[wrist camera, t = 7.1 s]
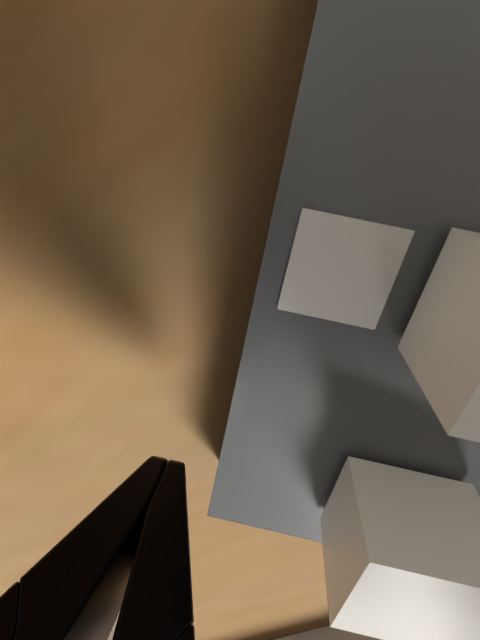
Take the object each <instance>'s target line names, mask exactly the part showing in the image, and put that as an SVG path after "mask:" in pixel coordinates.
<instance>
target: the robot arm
mask: <svg viewBox="0 0 480 640" xmlns="http://www.w3.org/2000/svg"><path fill="white" fill-rule="evenodd" d="M119 611H120V613H119ZM118 613H119V617H118V621H117V624H116V628H115V632H114V636H113V640H195V632H194V626H193V622H194V618H193V600H192V582H191V565H190V547H189V529H188V511H187V494H186V476H185V464H184V463H183V462H179V461H174V460H169V461H168V460H167V459H165V458H161V457H157V456H151V457H150V458H149V459H147V460H146V461H145V462H144V463H143V464H142V465H141V466H140V467H139V468H138V469H137V470H136V471H135V472H134V473H132V474H131V475H130V476H129V477H128V478H127V479H126V480H125V481H124V482H123V483H122V484H121V485H120V486H119V487H117V488H116V489H115V490H114V491H113V492H112V493H111V494H110V495H109V496H108V497H107V498H106V499H105V500H104V501H102V502H101V503H100V504H99V505H98V506H97V507H96V508H95V509H94V510H93V511H92V512H91V513H90V514H89V515H87V516H86V517H85V518H84V519H83V520H82V521H81V522H80V523H79V524H78V525H77V526H76V527H75V528H74V529H73V530H71V531H70V532H69V533H68V534H67V535H66V536H65V537H64V538H63V539H62V540H61V541H60V542H59V543H58V544H56V545H55V546H54V547H53V548H52V549H51V550H50V551H49V552H48V553H47V554H46V555H45V556H44V557H43V558H41V559H40V560H39V561H38V562H37V563H36V564H35V565H34V566H33V567H32V568H31V569H30V570H29V571H28V572H26V573H25V574H24V575H23V576H22V577H21V578H20V583H19V582H16V583H14V584H13V585H12V586H11V587H10V588H9V589H8V590H7V591H6V592H5V593H4V594H3V595H2V596H1V597H0V640H107V639H108V637H109V634H110V632H111V630H112V627H113V625H114V623H115V620H116V618H117V616H118Z"/></svg>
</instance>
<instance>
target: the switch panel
mask: <svg viewBox="0 0 480 640" xmlns="http://www.w3.org/2000/svg"><path fill="white" fill-rule="evenodd" d="M452 227H454V228H459V229H464V230H469V231H473V232H478V233H480V0H318V4H317V8H316V13H315V18H314V22H313V27H312V31H311V36H310V41H309V45H308V50H307V55H306V59H305V64H304V69H303V73H302V78H301V82H300V87H299V92H298V96H297V101H296V106H295V110H294V115H293V120H292V124H291V129H290V134H289V138H288V143H287V147H286V152H285V157H284V161H283V166H282V171H281V175H280V180H279V185H278V189H277V194H276V198H275V203H274V208H273V212H272V217H271V222H270V226H269V231H268V236H267V240H266V245H265V250H264V254H263V259H262V263H261V268H260V273H259V277H258V282H257V287H256V291H255V296H254V301H253V305H252V310H251V315H250V319H249V324H248V328H247V333H246V338H245V342H244V347H243V352H242V356H241V361H240V366H239V370H238V375H237V379H236V384H235V389H234V393H233V398H232V403H231V407H230V412H229V417H228V421H227V426H226V431H225V435H224V440H223V444H222V449H221V454H220V458H219V463H218V468H217V472H216V477H215V482H214V486H213V491H212V496H211V500H210V505H209V509H208V514H207V516H211V517H215V518H219V519H223V520H228V521H232V522H236V523H240V524H245V525H249V526H253V527H257V528H262V529H266V530H270V531H275V532H279V533H283V534H287V535H292V536H296V537H300V538H304V539H309V540H313V541H317V542H321V543H322V534H321V523H320V517H321V515H322V513H323V510H324V508H325V506H326V504H327V502H328V499H329V497H330V495H331V493H332V491H333V488H334V486H335V484H336V482H337V480H338V477H339V475H340V473H341V471H342V469H343V466H344V464H345V462H346V460H347V458H348V456H350V457H354V458H359V459H363V460H368V461H372V462H376V463H381V464H385V465H390V466H394V467H399V468H403V469H407V470H412V471H416V472H421V473H425V474H429V475H434V476H438V477H443V478H447V479H451V480H456V481H460V482H465V483H469V484H473V485H474V487H475V489H476V491H477V492H478V494H479V496H480V442H475V441H471V440H466V439H462V438H457V437H453V436H448V435H447V433H446V431H445V430H444V428H443V426H442V424H441V423H440V421H439V419H438V417H437V416H436V414H435V412H434V410H433V409H432V407H431V405H430V403H429V402H428V400H427V398H426V396H425V394H424V393H423V391H422V389H421V387H420V386H419V384H418V382H417V380H416V379H415V377H414V375H413V373H412V372H411V370H410V368H409V366H408V365H407V363H406V361H405V359H404V358H403V356H402V354H401V352H400V351H399V349H398V345H399V343H400V341H401V339H402V336H403V334H404V332H405V330H406V328H407V325H408V323H409V321H410V319H411V317H412V314H413V312H414V310H415V308H416V306H417V303H418V301H419V299H420V297H421V294H422V292H423V290H424V288H425V286H426V283H427V281H428V279H429V277H430V275H431V272H432V270H433V268H434V266H435V264H436V261H437V259H438V257H439V255H440V253H441V250H442V248H443V246H444V244H445V242H446V239H447V237H448V235H449V233H450V231H451V228H452Z"/></svg>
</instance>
